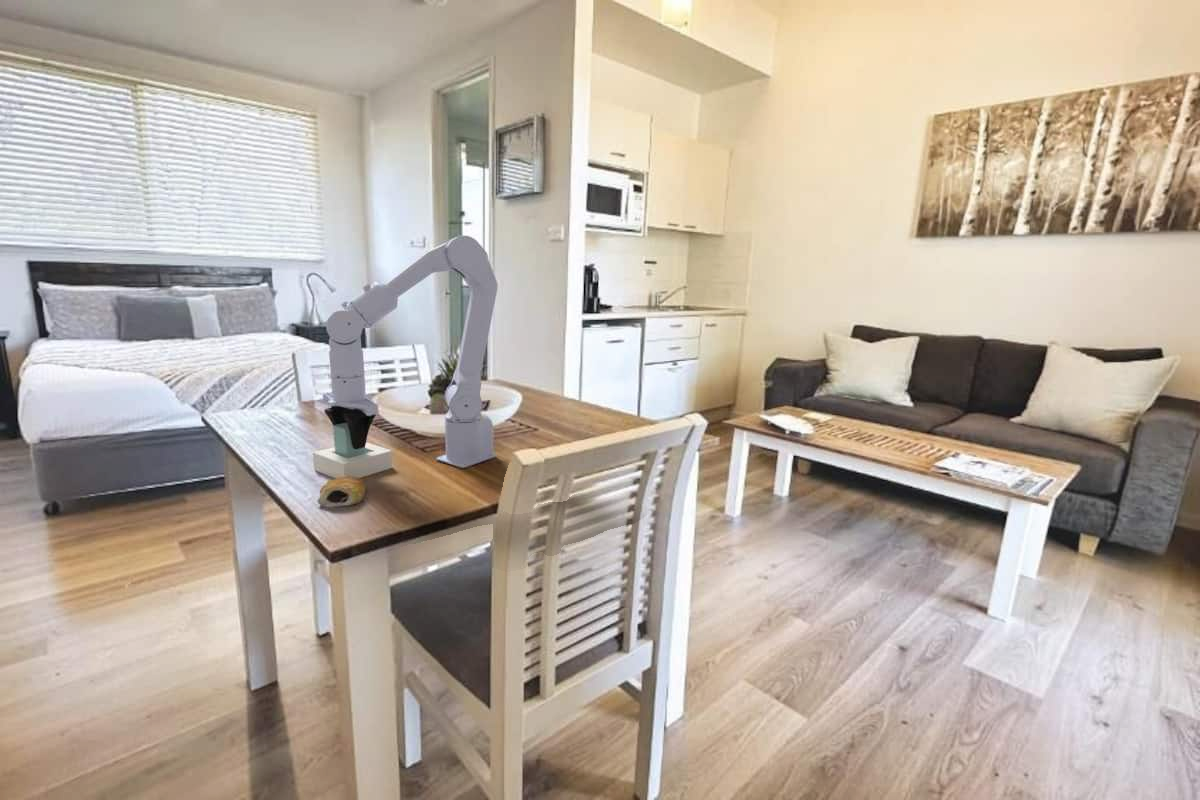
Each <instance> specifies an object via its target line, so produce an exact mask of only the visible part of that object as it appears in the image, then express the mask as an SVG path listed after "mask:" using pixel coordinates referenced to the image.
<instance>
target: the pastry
mask: <svg viewBox="0 0 1200 800" xmlns="http://www.w3.org/2000/svg"><path fill="white" fill-rule="evenodd" d="M365 493H366V485H365V482H364V481H363V479H362V478H357V477H350V476H345V477H341V478H337V479H335V478H333V479H332V480H331V479H330V480H328V481H327V482H326V484H324V485H323V486H322V487H321V489H320V491H319V497H318V499H317V503H318V504H319V506H321V507H322V506H326V507H325V508H337V507H336V506H339V507H350V505H351V506H354V505H353V504H355V505H356V503H357V504H359V503H361V502H362V501H363V499H364V498H365ZM360 501H361V502H360ZM334 506H335V507H334Z"/></svg>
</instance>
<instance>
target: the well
mask: <svg viewBox="0 0 1200 800" xmlns="http://www.w3.org/2000/svg"><path fill="white" fill-rule="evenodd" d="M312 457H313V458H312V459H313V470H314V471H316V472H317V473H318V472H319V473H321V474H323V475H326V476H328V477H331V478H333V479H337V478H341V477H345V476H350V477H357V478H360V479H362V478H364V477H367V476H370V475H374V474H377V473H381V472H384V471H388V470H390V469H393V466H394V465H393V451H392V450H391V449H387V448H386V447H382V446H379V445H376V444H373V443H369V442H367V441H366V445H365V454H362V455H358V456H355V457H351V458H346V457H343V456H340V455H337V454H335V446H333V447H329V448H325V449H321V450H319V451H313V452H312Z"/></svg>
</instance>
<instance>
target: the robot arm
mask: <svg viewBox="0 0 1200 800" xmlns="http://www.w3.org/2000/svg"><path fill="white" fill-rule="evenodd" d="M451 269H452V270H453V271H454V272H456V273H457V274H459V275H460V276H461V278H462V280H463V281H464V282H465V283H466V285H467V287H469V289H470V294H469V299H468V300H469V301H468V305H467V310H466V314H465V315H466V316H465V321H464V325H463V326H464V327H463V331H462V337H461V341H460V347H459V353H458V356H457V357H458V358H457V362H456V363H457V364H456V367H455V370H454V372H453V374H452V380H451V382H450V384H449V385H448V386H447V388H446V390H445V392H444V401H445V402H446V403H445V404H446V405H447V406H448V408H449V409H448V411H447V412H446V413H445V415H444V430H445V432H444V433H445V435H444V436H445V437H444V438H445V454H444V455H441V456H440V455H439V456H438V457H436V460H437V461H439V462H442V463H445V464H449V465H452V466H455V467H457V468H461V469H465V468H469V467H471V466H473V465H476V464H479V463H483V462H485V461H488V460H490V459H494V458H496V457H497V454H496V453H495V452H494V424H493V421H492V420H491V417H489V416H488V415H487V414H485V413H481V412H482V409H483V401H482V397H481V390H482V389H481V388H482V370H483V364H484V359H485V354H486V348H487V342H488V339H489V335H490V334H489V333H490V328H491V323H492V317H493V312H494V309H495V303H496V297H497V293H498V281H497V278H496V275H495V274H494V270H493V267H492V266H491V263H490V259H489V255H488V252H487V251H486V250H485V249H484V248H483V246H482V245H481V243H479V241H477V239H475V238H473V237H472V236H470V235H465V234H464V235H458V236H457V237H452V238H450V239H448V240H447V241H446V242H445V243H442V244H439V245H438V246H436V247H434V248H432V249H430V250H429V251H426V252H425V253H424V254H423V255H421V256H419V258H418V259H416V260H414V262H412V263H411V264H409V265H408V266H407V267H406V268H405V269H403V270H401V272H400V273H399V274H396V276H395V277H393V278H391V280H389V281H388V282H387V283H385V282H384V283H383V282H376V281H375V282H373V283H372V284H370V283H367V284H365V285H363V287H362V289H363V291H362V292H360V293H359V294H357V295H356V296H355V297H353V298H352V299H351V300H349V301H346V300H345V301H343V302H342V303H341V307H342V308H343V309H338V310H336V311H334V312H333V313H331V315H330V316H328V319H327V320H326V324H325V329H326V332H327V334H328V336H329V340H328V346H329V349H330V350H329V351H328V358H329V368H330V370H329V371H330V381H331V384H330V385H331V391H330V392H329V391H328V392H325V393H323V392H322V400H323V402H322V403H323V404H326V405H327V406H330V407H327V408H325V409H324V413H325V415H326V417H328V419H329V421H330V422H331V424H332V426H333V425H337V424H342V423H347V425H348V428H349V431H350V436H351V442H352V446H353V448H354V449H359V448H363V447H365V445H366V442H367V440H368V436H369V431H370V428H371V425H372V423H373V421H374V419H375V418H376V415H379V404H378V403H376V402H374V401H372V400H371V399H370V398H368V397H367V396H366V394H367V393H366V377H365V364H364V350H363V349H362V339H361V335H362V333H363V330H364V329H370V328H371V327H373V326H375V324H377V323H378V322H380V321H381V320H382V319H384V318H385V317H386V316H388V315H389V314H390V313H391V312H393V311H394V310H396V309H397V307H398V301H399V299H398V298H399V297H400V296H402V295H403V294H405V293H406V292H408V291H409V290H410V289H411V288H413V287H414V286H417V284H419V283H421V282H422V281H423V280H424V279H426V278H428V277H429V276H430V275H432V274H433V273H440V272H447V271H450V270H451Z"/></svg>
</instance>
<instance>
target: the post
mask: <svg viewBox="0 0 1200 800" xmlns="http://www.w3.org/2000/svg"><path fill="white" fill-rule="evenodd" d="M332 426H333V427H332V429H333V442H334V447H335V454H337V455H340V456H343V457H346V458H351V457H355V456H358V455H362V454H365V447H363V448H359V449H354V448H353V446H352V442H351V436H350V431H349V428H348V425H347V423H342V424H337V425H333V424H332Z"/></svg>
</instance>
